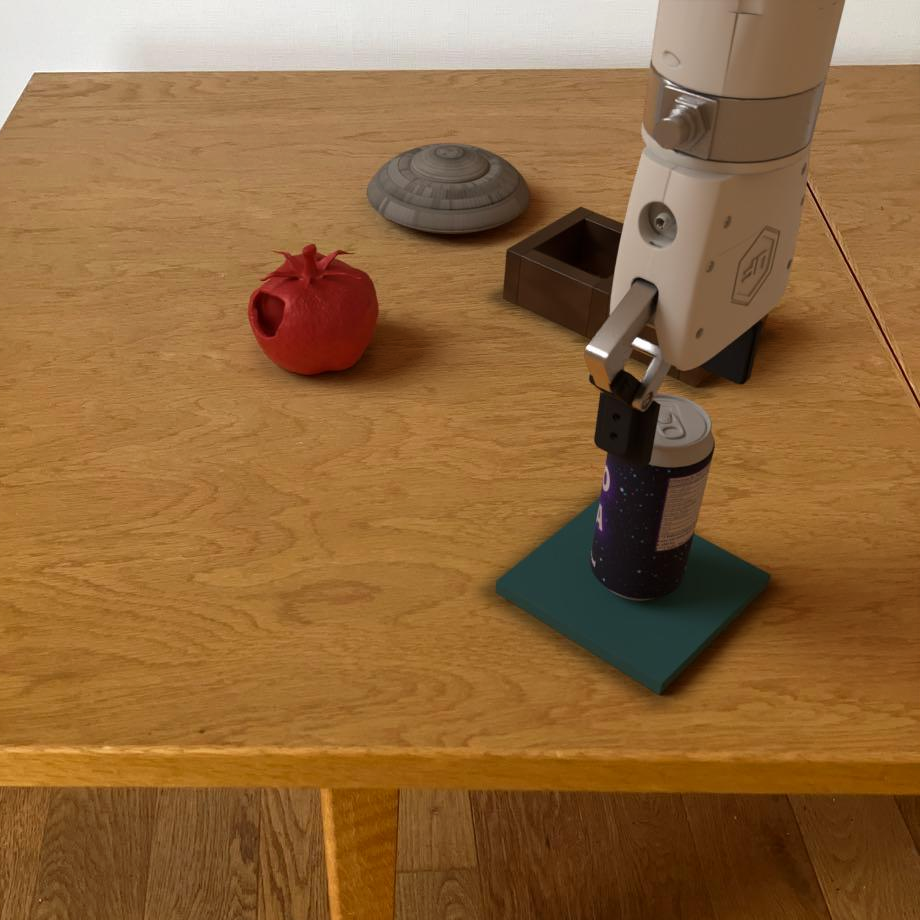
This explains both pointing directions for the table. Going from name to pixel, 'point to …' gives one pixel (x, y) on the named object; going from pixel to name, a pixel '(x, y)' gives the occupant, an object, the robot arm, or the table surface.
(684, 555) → the beverage can
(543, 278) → the box
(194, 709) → the table surface
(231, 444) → the table surface
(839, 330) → the table surface
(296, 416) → the table surface
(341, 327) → the pomegranate
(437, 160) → the flying saucer
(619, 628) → the mat
